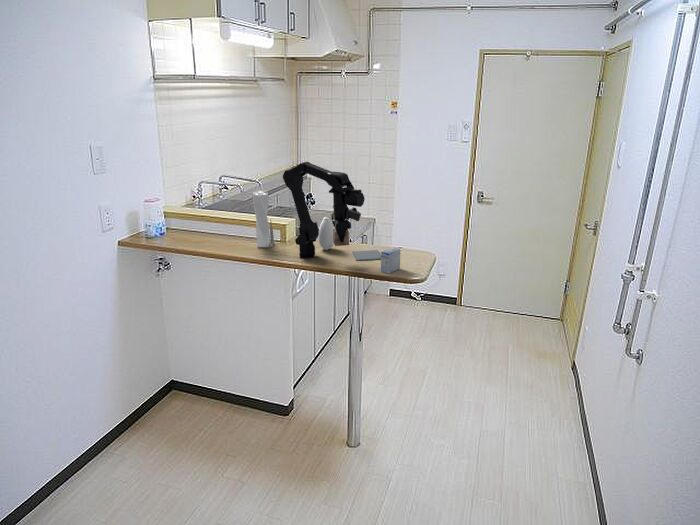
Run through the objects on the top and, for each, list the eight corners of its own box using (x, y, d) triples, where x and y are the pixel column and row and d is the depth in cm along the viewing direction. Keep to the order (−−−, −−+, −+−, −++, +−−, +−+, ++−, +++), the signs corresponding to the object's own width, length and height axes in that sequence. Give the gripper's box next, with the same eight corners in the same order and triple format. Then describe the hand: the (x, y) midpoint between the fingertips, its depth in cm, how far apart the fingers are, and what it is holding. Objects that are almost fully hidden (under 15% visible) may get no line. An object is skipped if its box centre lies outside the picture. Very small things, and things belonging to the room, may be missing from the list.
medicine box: (391, 266, 212) (391, 246, 209) (400, 268, 209) (400, 248, 207) (380, 271, 206) (380, 251, 204) (389, 273, 204) (389, 253, 201)
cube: (335, 246, 210) (334, 232, 208) (333, 242, 216) (332, 228, 214) (349, 245, 211) (348, 231, 209) (347, 241, 217) (346, 227, 215)
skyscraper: (271, 248, 238) (267, 190, 229) (254, 248, 238) (250, 190, 229) (274, 243, 246) (270, 186, 237) (258, 243, 246) (253, 186, 237)
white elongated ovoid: (333, 252, 231) (332, 214, 225) (316, 251, 233) (315, 213, 227) (336, 247, 238) (336, 210, 233) (320, 246, 240) (319, 209, 234)
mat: (356, 260, 219) (356, 259, 219) (352, 252, 231) (352, 251, 230) (383, 259, 221) (383, 258, 221) (377, 251, 232) (377, 249, 232)
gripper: (363, 208, 200) (363, 245, 205) (355, 198, 218) (356, 233, 223) (335, 209, 199) (336, 246, 204) (330, 199, 216) (331, 234, 221)
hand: (341, 240), depth 213 cm, fingers closed on cube, 6 cm apart
